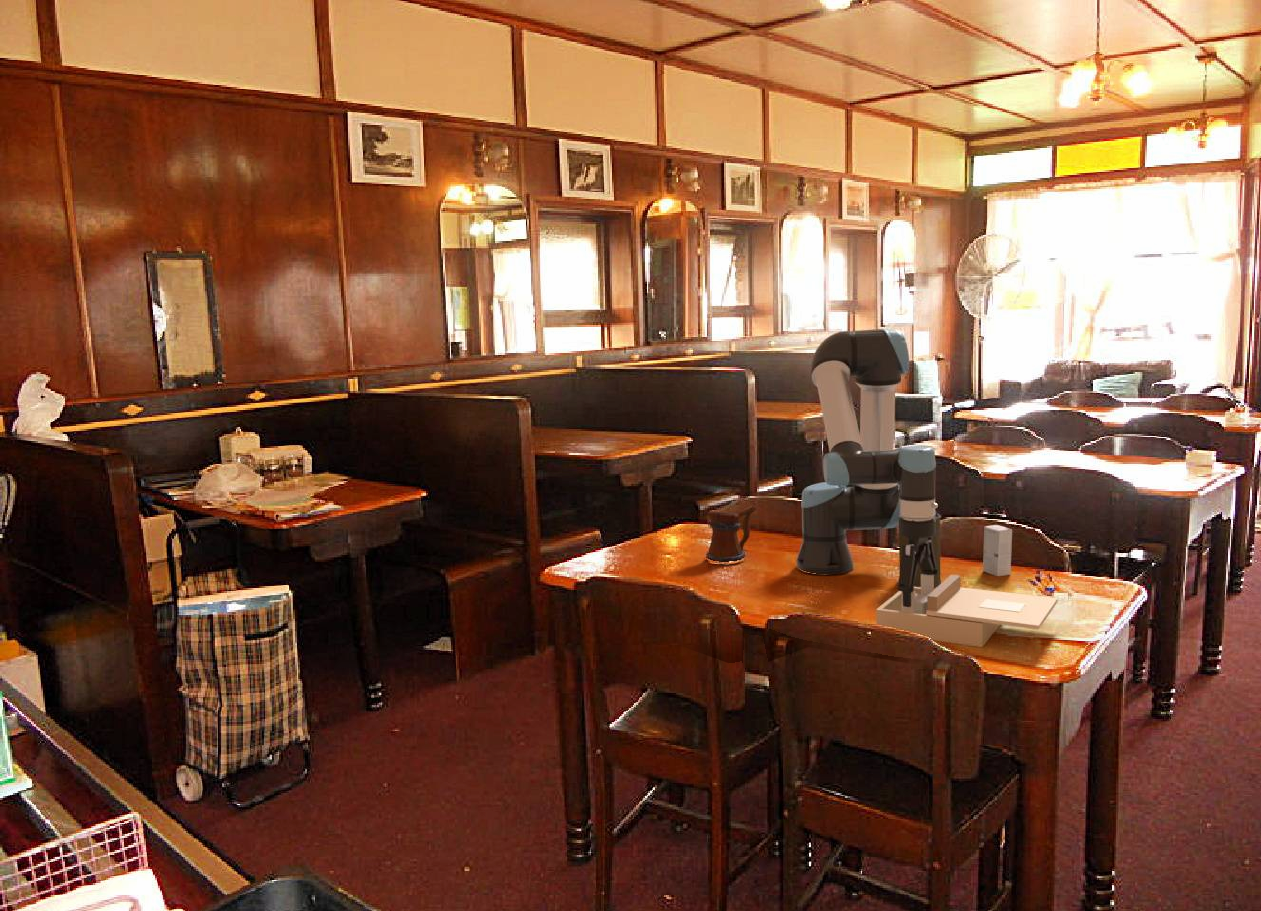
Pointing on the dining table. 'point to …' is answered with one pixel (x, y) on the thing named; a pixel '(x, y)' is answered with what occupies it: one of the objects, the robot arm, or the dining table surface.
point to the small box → (920, 604)
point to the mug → (728, 535)
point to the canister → (936, 546)
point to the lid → (988, 605)
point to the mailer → (934, 624)
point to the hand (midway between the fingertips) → (918, 611)
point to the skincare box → (997, 550)
